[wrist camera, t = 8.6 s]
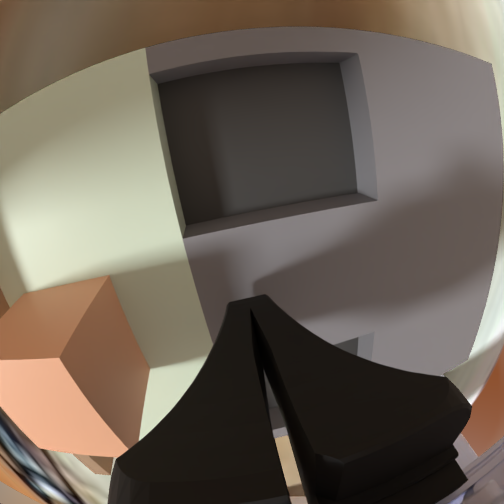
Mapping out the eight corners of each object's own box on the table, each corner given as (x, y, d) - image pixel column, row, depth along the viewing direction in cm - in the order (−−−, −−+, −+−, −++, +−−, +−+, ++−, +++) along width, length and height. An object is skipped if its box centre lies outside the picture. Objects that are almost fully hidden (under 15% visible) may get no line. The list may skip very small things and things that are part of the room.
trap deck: (452, 344, 17) (481, 373, 13) (104, 430, 15) (95, 473, 11) (466, 66, 10) (516, 61, 6) (-26, 148, 8) (-77, 158, 4)
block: (150, 368, 11) (136, 457, 7) (68, 375, 11) (39, 448, 6) (108, 275, 9) (59, 357, 5) (23, 293, 9) (-34, 359, 5)
